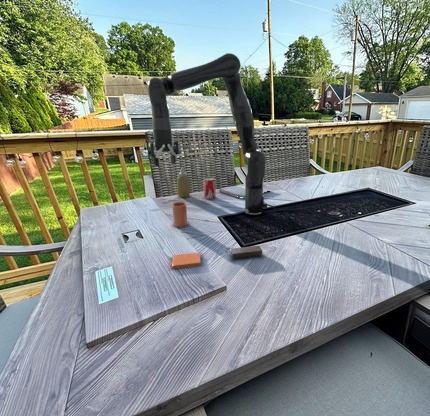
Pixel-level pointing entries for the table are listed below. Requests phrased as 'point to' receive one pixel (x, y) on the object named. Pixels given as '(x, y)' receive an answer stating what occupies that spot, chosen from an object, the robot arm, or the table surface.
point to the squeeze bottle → (183, 184)
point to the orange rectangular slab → (186, 260)
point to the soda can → (209, 188)
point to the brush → (246, 252)
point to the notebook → (234, 191)
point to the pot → (179, 214)
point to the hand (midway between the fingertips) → (165, 164)
